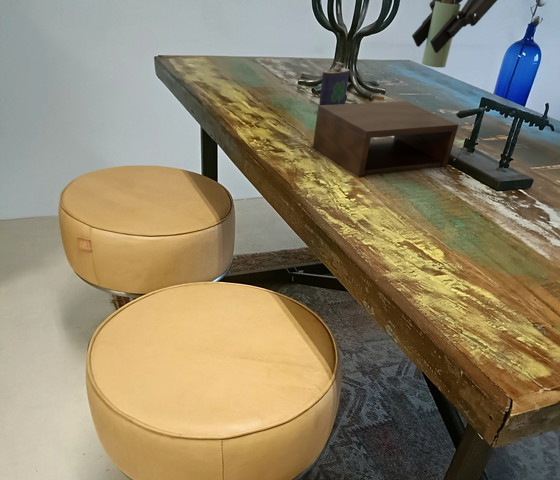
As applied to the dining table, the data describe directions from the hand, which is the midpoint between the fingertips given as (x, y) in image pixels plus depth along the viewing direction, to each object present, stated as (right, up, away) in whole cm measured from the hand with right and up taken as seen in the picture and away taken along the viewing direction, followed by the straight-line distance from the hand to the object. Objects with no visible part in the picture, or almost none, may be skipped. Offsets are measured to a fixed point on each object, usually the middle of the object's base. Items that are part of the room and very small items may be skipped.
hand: (424, 44), depth 115 cm
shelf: (-9, -23, -1) cm, 25 cm away
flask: (-17, -4, +22) cm, 28 cm away
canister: (+3, -2, +4) cm, 5 cm away
